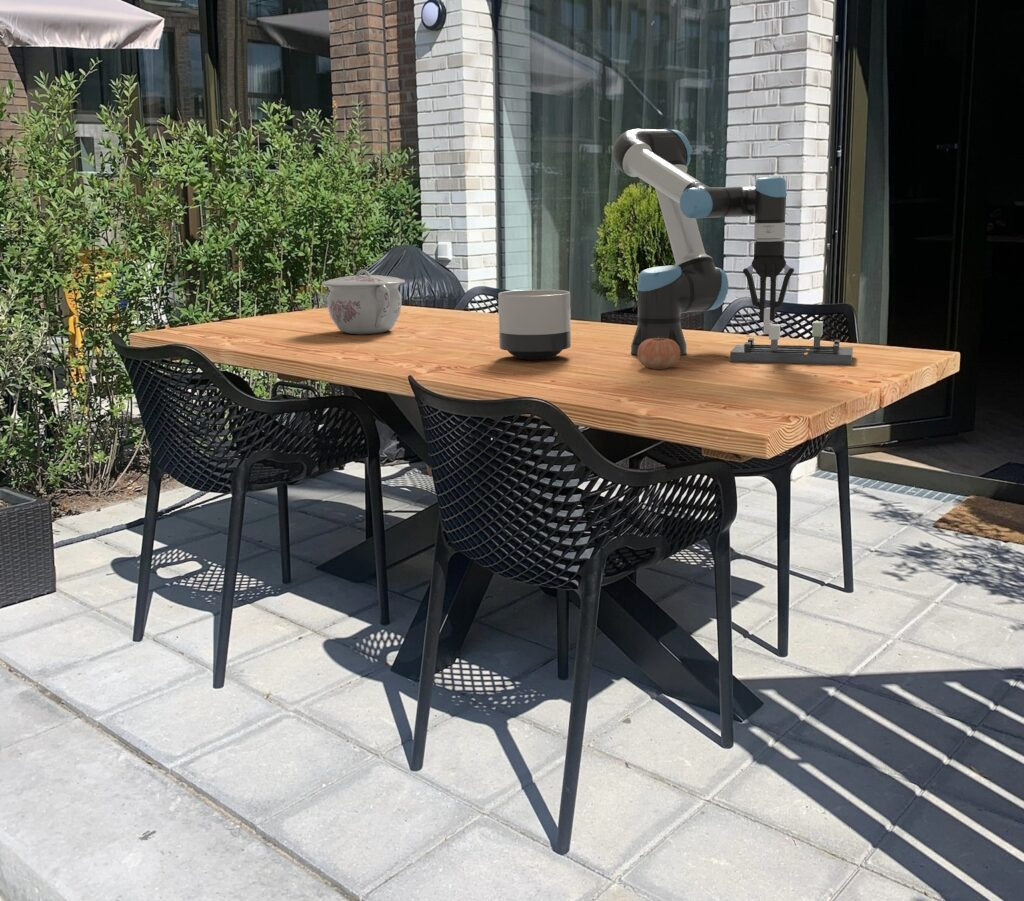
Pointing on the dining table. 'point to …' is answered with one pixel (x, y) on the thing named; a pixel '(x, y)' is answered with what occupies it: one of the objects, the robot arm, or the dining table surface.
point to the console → (792, 354)
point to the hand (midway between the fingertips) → (766, 333)
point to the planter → (534, 323)
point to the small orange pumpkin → (658, 353)
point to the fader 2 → (817, 332)
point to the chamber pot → (364, 302)
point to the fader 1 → (774, 336)
